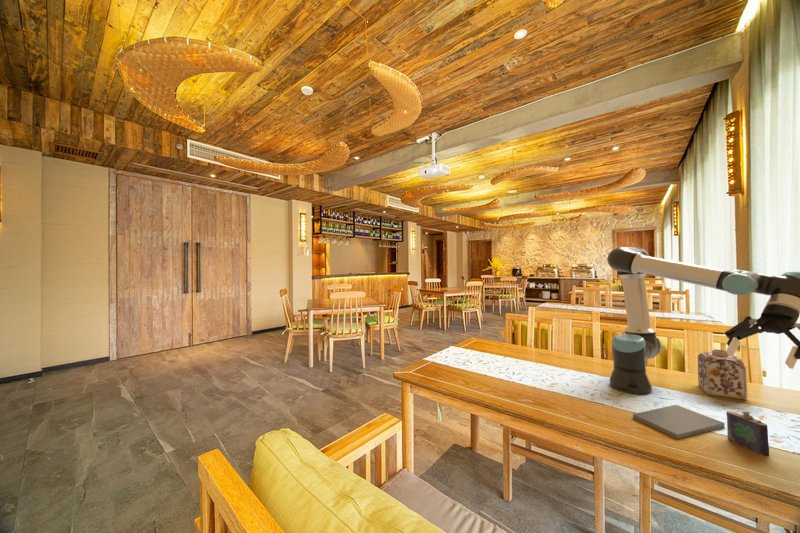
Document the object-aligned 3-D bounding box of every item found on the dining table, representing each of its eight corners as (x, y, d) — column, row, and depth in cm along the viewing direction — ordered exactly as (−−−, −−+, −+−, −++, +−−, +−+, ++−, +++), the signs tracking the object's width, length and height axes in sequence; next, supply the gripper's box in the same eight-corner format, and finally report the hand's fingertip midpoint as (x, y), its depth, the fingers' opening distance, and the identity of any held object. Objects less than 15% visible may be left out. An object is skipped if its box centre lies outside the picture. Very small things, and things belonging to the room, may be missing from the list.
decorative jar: (748, 400, 117) (746, 356, 117) (707, 394, 123) (705, 352, 123) (735, 389, 127) (733, 348, 127) (697, 384, 133) (696, 345, 133)
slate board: (633, 418, 107) (633, 414, 107) (676, 408, 113) (676, 404, 113) (677, 439, 94) (677, 434, 94) (724, 427, 99) (724, 422, 99)
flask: (725, 438, 93) (724, 405, 93) (732, 437, 94) (731, 404, 94) (765, 457, 84) (763, 420, 84) (773, 455, 85) (771, 419, 85)
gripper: (850, 323, 89) (825, 379, 84) (737, 312, 113) (713, 356, 109) (839, 307, 87) (813, 363, 83) (727, 300, 111) (703, 343, 107)
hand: (756, 359), depth 96 cm, fingers open, 13 cm apart
